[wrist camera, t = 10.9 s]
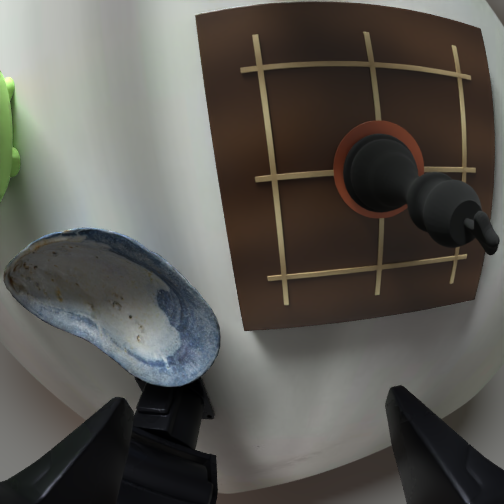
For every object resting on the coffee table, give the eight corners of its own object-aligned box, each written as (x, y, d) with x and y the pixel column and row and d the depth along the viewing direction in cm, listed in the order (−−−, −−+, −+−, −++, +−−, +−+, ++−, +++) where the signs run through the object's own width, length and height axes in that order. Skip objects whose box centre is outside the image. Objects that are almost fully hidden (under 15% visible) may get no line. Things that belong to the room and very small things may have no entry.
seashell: (83, 350, 24) (60, 385, 20) (29, 229, 19) (-10, 254, 15) (236, 349, 23) (229, 398, 18) (199, 190, 18) (175, 215, 13)
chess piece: (386, 117, 14) (517, 129, 5) (426, 180, 15) (549, 251, 6) (326, 165, 15) (405, 232, 6) (371, 225, 16) (460, 337, 7)
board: (465, 290, 19) (475, 300, 18) (245, 318, 21) (243, 332, 20) (469, 32, 11) (481, 28, 10) (200, 22, 13) (194, 13, 12)
